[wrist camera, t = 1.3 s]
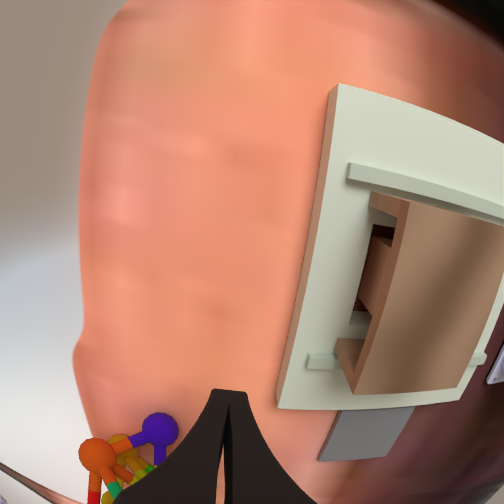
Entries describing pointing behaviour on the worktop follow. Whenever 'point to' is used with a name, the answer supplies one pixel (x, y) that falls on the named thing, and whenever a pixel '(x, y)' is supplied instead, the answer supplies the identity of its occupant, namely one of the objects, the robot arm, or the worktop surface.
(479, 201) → the puzzle board
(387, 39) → the worktop surface
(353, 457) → the slate pad
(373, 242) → the terracotta block
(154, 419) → the molecular model
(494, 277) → the walnut cover
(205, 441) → the robot arm
